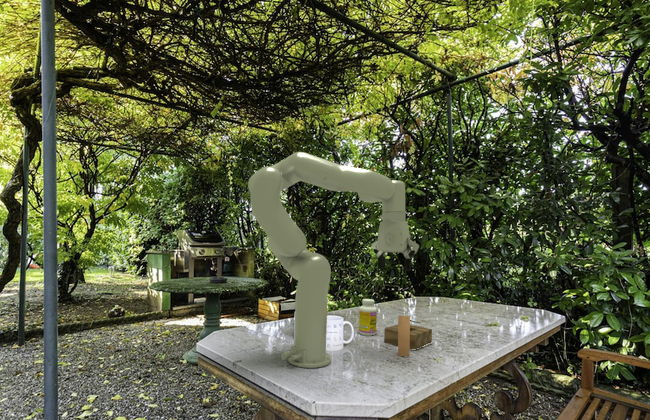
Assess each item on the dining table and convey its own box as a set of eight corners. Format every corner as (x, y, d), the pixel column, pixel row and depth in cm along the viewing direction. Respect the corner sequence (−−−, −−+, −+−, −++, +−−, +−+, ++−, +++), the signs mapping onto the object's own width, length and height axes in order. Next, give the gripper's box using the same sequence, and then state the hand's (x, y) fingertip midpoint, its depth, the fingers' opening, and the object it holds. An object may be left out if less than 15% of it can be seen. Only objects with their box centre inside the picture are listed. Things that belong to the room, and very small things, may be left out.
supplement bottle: (370, 337, 135) (371, 302, 136) (355, 334, 139) (356, 299, 140) (379, 333, 141) (380, 299, 141) (364, 330, 145) (365, 297, 145)
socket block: (414, 350, 121) (414, 335, 121) (384, 342, 129) (384, 328, 129) (431, 343, 129) (432, 329, 130) (402, 336, 137) (402, 323, 138)
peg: (405, 358, 113) (406, 318, 114) (395, 355, 115) (396, 316, 116) (411, 355, 116) (412, 316, 116) (401, 352, 118) (402, 314, 119)
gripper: (365, 218, 124) (366, 269, 123) (412, 216, 113) (413, 272, 112) (378, 218, 130) (378, 267, 129) (423, 217, 119) (424, 270, 117)
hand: (394, 269), depth 120 cm, fingers open, 9 cm apart
